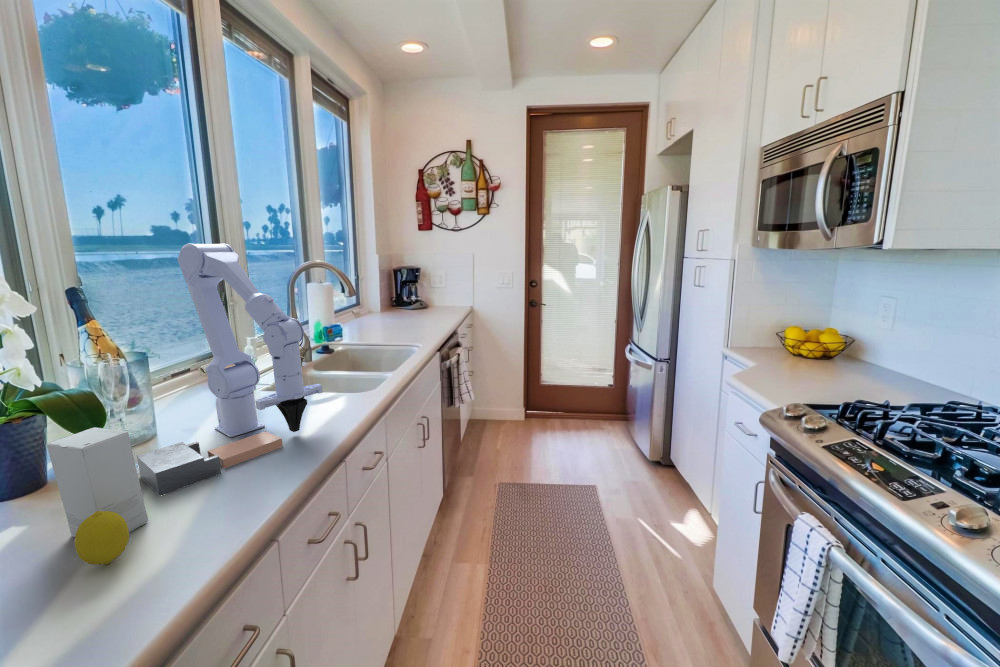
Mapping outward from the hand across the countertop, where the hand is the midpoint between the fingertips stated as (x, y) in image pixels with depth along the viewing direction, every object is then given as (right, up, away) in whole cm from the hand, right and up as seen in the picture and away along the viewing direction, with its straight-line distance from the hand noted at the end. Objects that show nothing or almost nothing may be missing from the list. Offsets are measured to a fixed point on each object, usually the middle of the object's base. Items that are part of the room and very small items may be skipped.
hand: (294, 430), depth 104 cm
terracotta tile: (-7, -4, -8) cm, 11 cm away
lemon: (-7, -10, -41) cm, 43 cm away
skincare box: (-14, -9, -34) cm, 37 cm away
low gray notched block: (-13, -5, -16) cm, 22 cm away
